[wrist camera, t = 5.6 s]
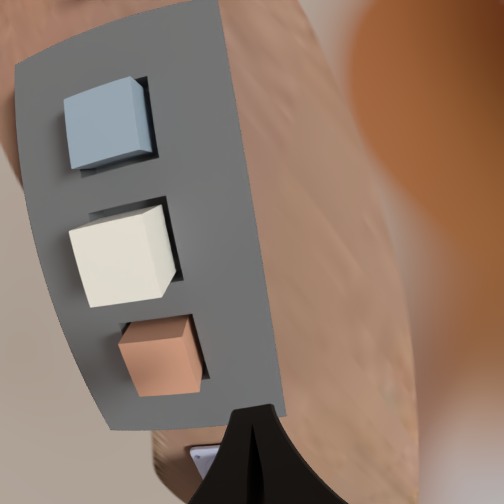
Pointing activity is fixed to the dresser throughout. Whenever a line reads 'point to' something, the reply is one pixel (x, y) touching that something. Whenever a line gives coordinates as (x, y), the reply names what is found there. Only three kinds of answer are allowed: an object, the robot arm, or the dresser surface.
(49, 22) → the dresser surface
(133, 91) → the blue key
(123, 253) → the white key
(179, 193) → the key panel
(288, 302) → the dresser surface
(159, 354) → the terracotta key
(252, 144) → the dresser surface
